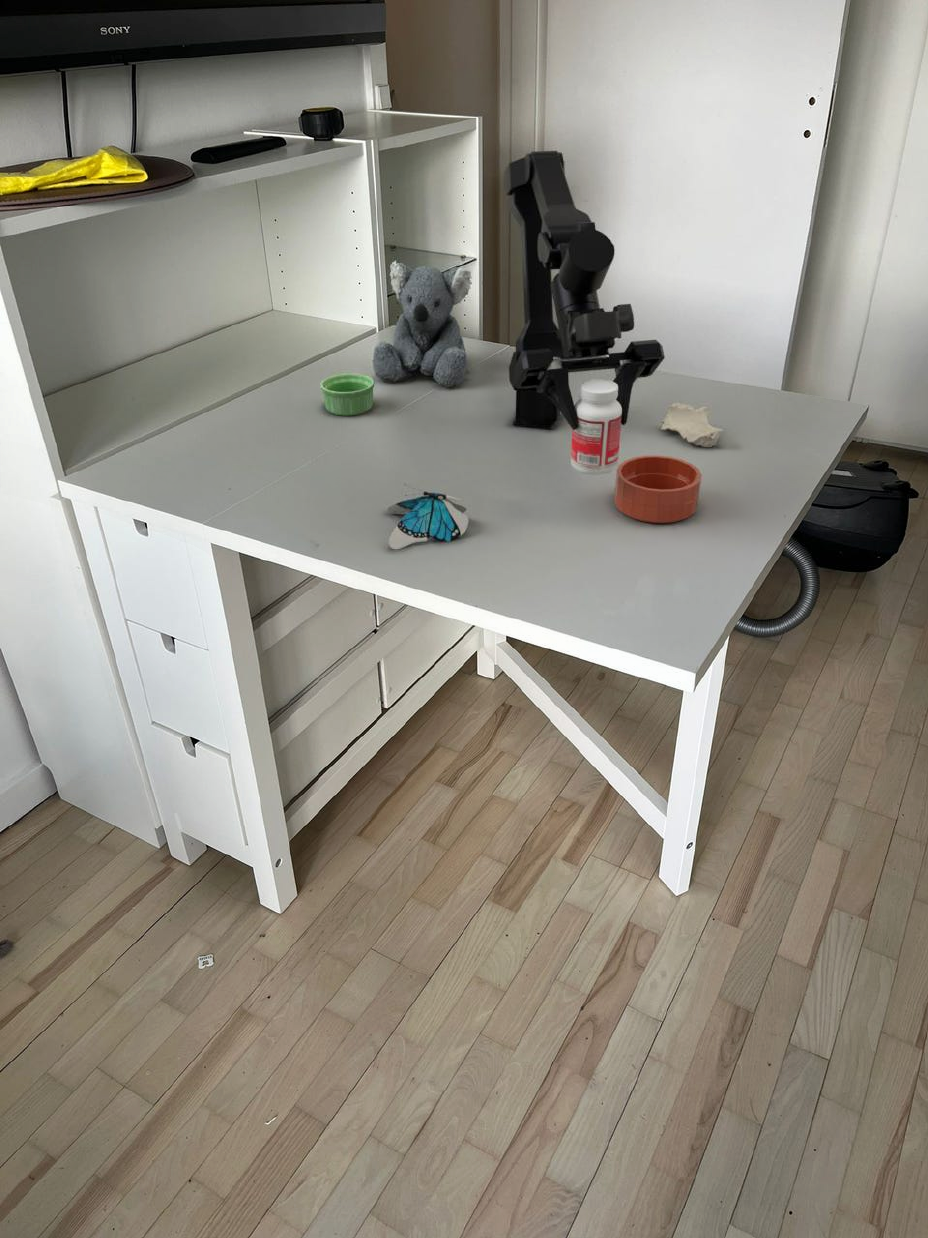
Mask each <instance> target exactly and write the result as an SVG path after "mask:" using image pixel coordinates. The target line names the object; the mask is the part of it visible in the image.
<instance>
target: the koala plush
mask: <svg viewBox="0 0 928 1238" xmlns="http://www.w3.org/2000/svg"><path fill="white" fill-rule="evenodd" d="M471 272H472V271H469V269H467V268H464V267H463V265H461V266H459V267H458V266H456V267H452V268H450V269H449V270H447V271H445V272H442V271H441V270H440V269H438V268H436V267H434V266H429V265H422V266H419V267H416V268H415V269H413V268H412V267H411V266H409V265H406V264H404V263H403V262H398V263H397V260H394V261H392V262H391V264H390V274H389V277H390V285H391V287H392V288H391V293H395V295H396V299H397V300H398V301H399V303H400V304H401V307H402V310H403V313H402V314H400V316H399V318H398V320H397V323H396V324H395V328H394V332H393V338H392V339H393V341H392V344H391V343H390V342H388V341H380V342H378V343H376V345H375V346H374V349H373V355H372V356H373V357H372V358H373V359H372V365H373V366H372V367H373V372H374V374H375V376H376V377H377V378H378V379H380V380H381V381H383V382H387V383H388V382H389V383H394V382H401V381H403V380H406V379H408V378H411V377H412V376H414V375H416V374H418V373H419V372H420V373H421V374H422V375H424V376H427V377H431V376H432V377H433V380H434V381H435V382H436V383H437V384H438V385H440V386H443V387H446V388H451V387H452V388H453V387H456V386H458V385H459V384H460V383H462V382H463V380H464V378H465V373H466V370H467V369H468V357H467V352H466V347H465V343H464V339H463V337H462V335H461V329H460V325H459V323H458V320H457V319H456V317H455V316H453V315H452V314H451V312H452V311H453V308H454V306H457V305H458V304H461V302H462V301H463V300H464V299H465V298H466V296H468V295H469V291H470V289H471V285H472V284H473V283H472V281H471V279H473V276H472V273H471Z"/></svg>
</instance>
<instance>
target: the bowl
mask: <svg viewBox="0 0 928 1238" xmlns="http://www.w3.org/2000/svg"><path fill="white" fill-rule="evenodd" d="M701 484H702V473H701V470H700V469H699V468H697V467H696V466H695V464H693V463H691V462H688V461H686V460H684V459H682V458H681V459H680V458H677V457H673V456H665V455H659V454H658V455H656V454H655V455H654V454H653V455H640V456H635V457H631V458H629V459H626V460H624V461H622V462H621V463H620V464H618V465H617V468H616V473H615V485H614V486H615V487H614V495H613V497H614V498H613V502H614V505H615V507H616V509H618V511H620V512H621V513H622V514H624V515H626V516H627V517H629V518H631V519H634V520H637V521H640V522H644V523H650V524H670V523H675V522H679V521H683V520H685V519H688V518H690V517H691V516H692V515H694V513H696V511H697V508H698V505H699V497H700V491H701Z"/></svg>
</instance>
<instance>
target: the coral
mask: <svg viewBox="0 0 928 1238" xmlns="http://www.w3.org/2000/svg"><path fill="white" fill-rule="evenodd" d="M709 415H710V413H709V407H706V406H702V407H700V408H698V409H695V408H694V407H693V406H692V405H691V404H681V403H680V402H678V401H676V402H674V403H672V404H670V405H669V406H668V411H667V415H666V417H665V419H664V420H662V421H661V423H662V425H661V428H660V430H661V431H664V430H669V431H673V432H674V431H675V432H678V433H679V434H680V436H681V437H682V440H687V442H688V443H692V444H694V446H695V445H696V446H701V447H703V448H712V447H713V446H716V444H717V441H718V440H719V438H720V436H721V434H722V433H723V430H722V429H721V428H718V427H714V426H712V425H711V424H710V423H709Z"/></svg>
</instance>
